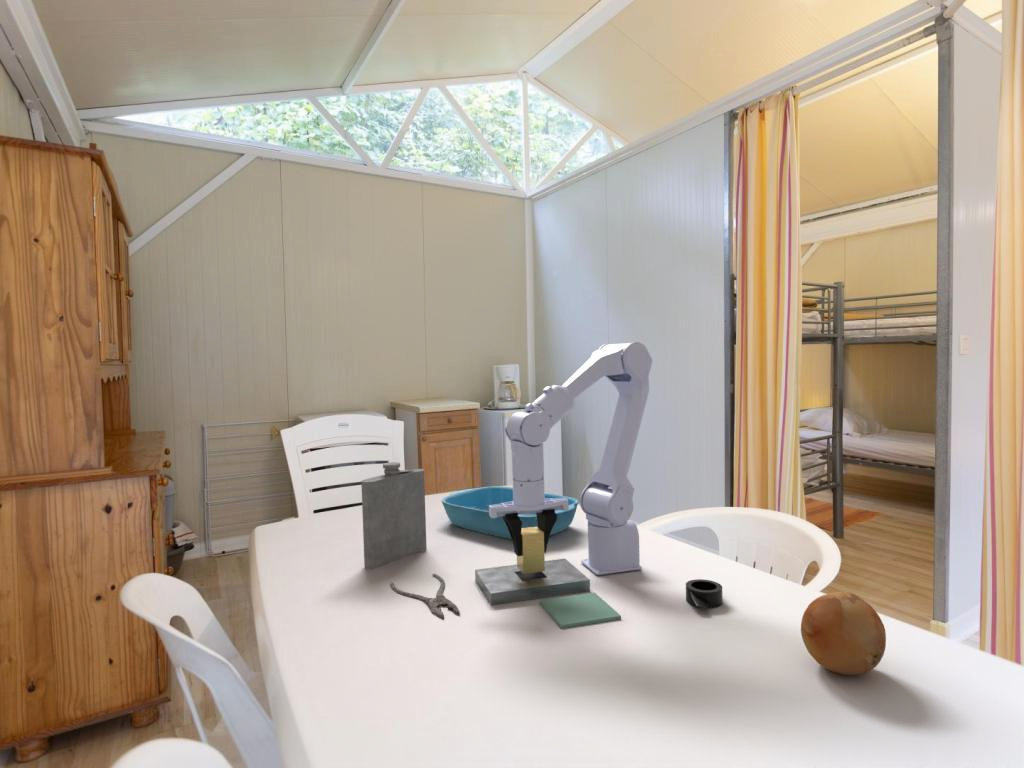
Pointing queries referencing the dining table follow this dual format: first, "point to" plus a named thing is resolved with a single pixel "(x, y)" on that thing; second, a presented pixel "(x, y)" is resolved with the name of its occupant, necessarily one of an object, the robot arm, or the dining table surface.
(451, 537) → the dining table surface
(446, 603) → the pliers
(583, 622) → the green mat
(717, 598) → the duct tape
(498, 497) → the casserole dish
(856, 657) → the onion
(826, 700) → the dining table surface
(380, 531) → the hip flask
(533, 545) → the brushed gold bar
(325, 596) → the dining table surface
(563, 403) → the robot arm
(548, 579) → the grey board with hole
